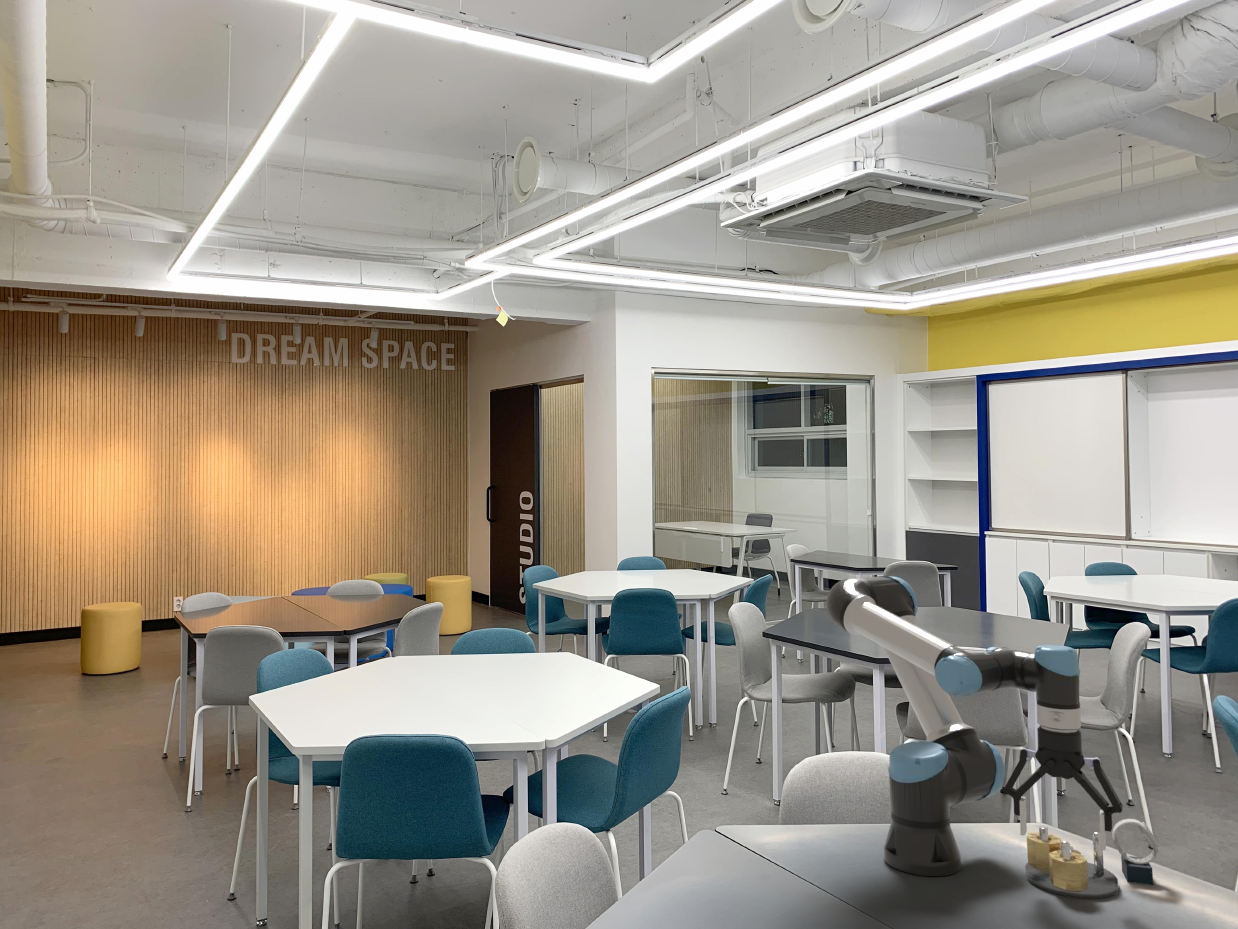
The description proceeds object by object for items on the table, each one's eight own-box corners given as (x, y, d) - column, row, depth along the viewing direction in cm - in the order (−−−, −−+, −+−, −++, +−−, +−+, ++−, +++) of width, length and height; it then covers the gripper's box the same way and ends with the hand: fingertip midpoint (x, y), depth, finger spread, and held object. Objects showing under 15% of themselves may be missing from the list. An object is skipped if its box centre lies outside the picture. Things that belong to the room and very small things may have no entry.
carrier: (1020, 887, 163) (1017, 837, 164) (1031, 859, 177) (1029, 813, 178) (1115, 906, 155) (1112, 853, 155) (1120, 875, 168) (1117, 827, 169)
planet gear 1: (1026, 865, 170) (1025, 840, 170) (1030, 855, 175) (1029, 830, 175) (1060, 871, 167) (1058, 845, 167) (1063, 861, 172) (1062, 836, 172)
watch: (1165, 886, 163) (1161, 827, 164) (1117, 881, 166) (1113, 823, 166) (1158, 875, 168) (1154, 818, 169) (1111, 870, 171) (1108, 814, 172)
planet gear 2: (1056, 889, 159) (1054, 861, 159) (1047, 876, 165) (1046, 849, 165) (1091, 892, 157) (1089, 864, 158) (1081, 878, 163) (1080, 852, 164)
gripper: (985, 723, 167) (989, 833, 166) (1133, 741, 154) (1138, 861, 152) (992, 715, 173) (995, 821, 172) (1135, 732, 160) (1139, 847, 159)
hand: (1062, 840), depth 162 cm, fingers open, 13 cm apart
